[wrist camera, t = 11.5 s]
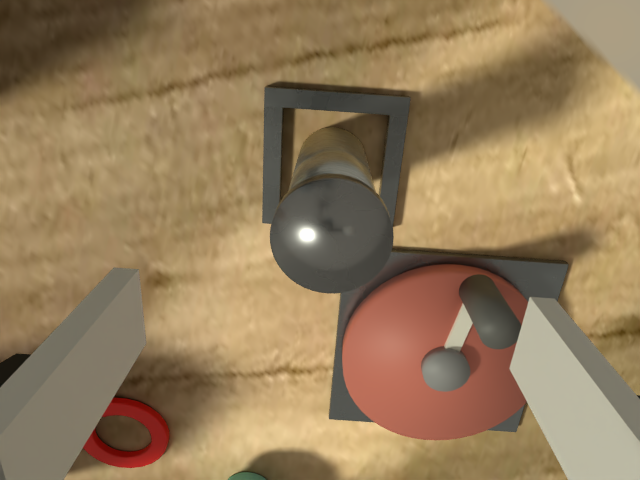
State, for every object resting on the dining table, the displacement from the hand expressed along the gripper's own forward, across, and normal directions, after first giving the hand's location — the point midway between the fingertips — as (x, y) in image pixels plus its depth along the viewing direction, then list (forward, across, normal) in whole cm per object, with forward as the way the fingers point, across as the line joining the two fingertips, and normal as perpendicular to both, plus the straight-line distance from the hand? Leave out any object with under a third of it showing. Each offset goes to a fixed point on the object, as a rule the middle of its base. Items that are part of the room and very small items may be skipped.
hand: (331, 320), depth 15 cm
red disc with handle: (+20, +10, -15) cm, 27 cm away
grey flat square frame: (+20, 0, 0) cm, 20 cm away
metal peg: (+20, 0, 0) cm, 20 cm away
